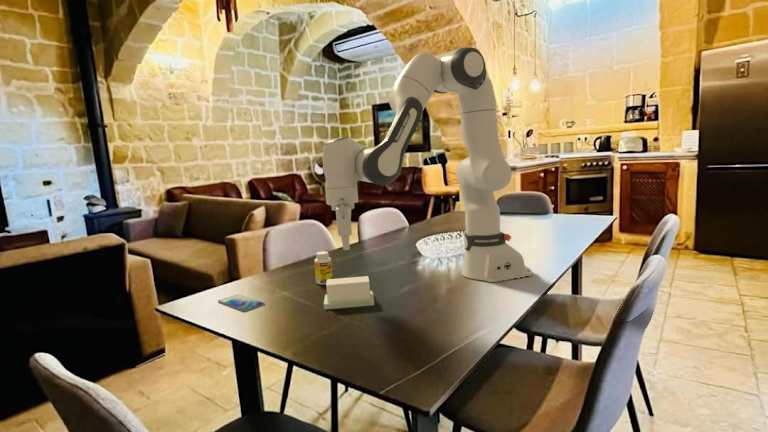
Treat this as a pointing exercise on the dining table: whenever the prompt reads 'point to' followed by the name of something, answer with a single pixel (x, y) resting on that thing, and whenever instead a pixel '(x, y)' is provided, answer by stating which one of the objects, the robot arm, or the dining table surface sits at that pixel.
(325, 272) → the supplement bottle
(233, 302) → the smartphone
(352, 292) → the block
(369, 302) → the board
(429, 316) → the dining table surface
